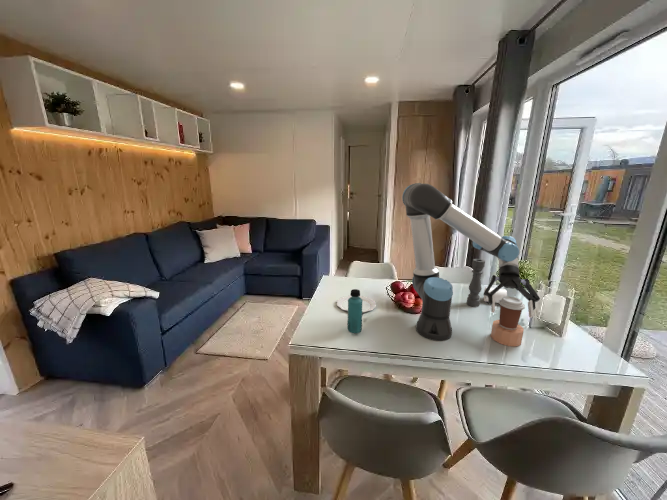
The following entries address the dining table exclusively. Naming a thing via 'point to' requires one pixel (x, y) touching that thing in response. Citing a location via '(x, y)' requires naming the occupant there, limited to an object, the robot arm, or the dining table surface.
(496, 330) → the terracotta bowl
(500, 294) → the mug
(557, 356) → the dining table surface
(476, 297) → the candle holder
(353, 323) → the beverage bottle
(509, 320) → the coffee cup
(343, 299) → the plate
